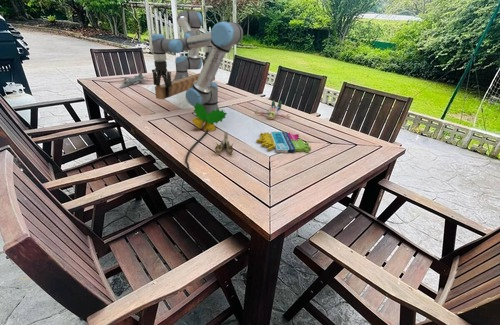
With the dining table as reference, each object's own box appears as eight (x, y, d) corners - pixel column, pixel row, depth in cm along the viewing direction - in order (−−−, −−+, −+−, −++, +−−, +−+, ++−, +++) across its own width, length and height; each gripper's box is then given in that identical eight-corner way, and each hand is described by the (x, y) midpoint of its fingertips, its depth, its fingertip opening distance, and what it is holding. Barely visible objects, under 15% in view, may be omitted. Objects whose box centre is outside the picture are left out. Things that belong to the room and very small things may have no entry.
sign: (313, 150, 142) (258, 149, 139) (312, 153, 143) (258, 152, 140) (301, 132, 164) (254, 130, 161) (301, 134, 165) (254, 133, 162)
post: (162, 99, 176) (161, 87, 172) (156, 98, 177) (154, 86, 173) (214, 79, 240) (215, 70, 236) (209, 79, 241) (209, 70, 237)
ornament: (218, 133, 171) (224, 110, 169) (221, 134, 163) (227, 111, 161) (186, 125, 162) (192, 101, 160) (189, 126, 155) (195, 101, 153)
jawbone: (234, 135, 144) (233, 125, 135) (233, 160, 138) (232, 151, 129) (217, 135, 144) (216, 125, 135) (216, 160, 138) (214, 150, 129)
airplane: (115, 80, 258) (112, 69, 253) (148, 78, 271) (147, 68, 266) (118, 90, 229) (115, 78, 224) (155, 87, 243) (153, 76, 238)
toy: (294, 102, 205) (291, 112, 179) (293, 111, 208) (289, 122, 182) (260, 97, 210) (251, 107, 184) (259, 106, 213) (250, 117, 187)
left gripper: (221, 52, 225) (220, 80, 236) (202, 50, 230) (202, 77, 241) (217, 53, 219) (217, 81, 230) (198, 51, 224) (198, 79, 235)
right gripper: (175, 61, 169) (178, 97, 181) (152, 58, 174) (156, 93, 186) (168, 62, 163) (171, 99, 175) (144, 59, 168) (149, 95, 180)
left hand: (209, 79), depth 236 cm, fingers closed on post, 5 cm apart
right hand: (163, 96), depth 180 cm, fingers closed on post, 5 cm apart
